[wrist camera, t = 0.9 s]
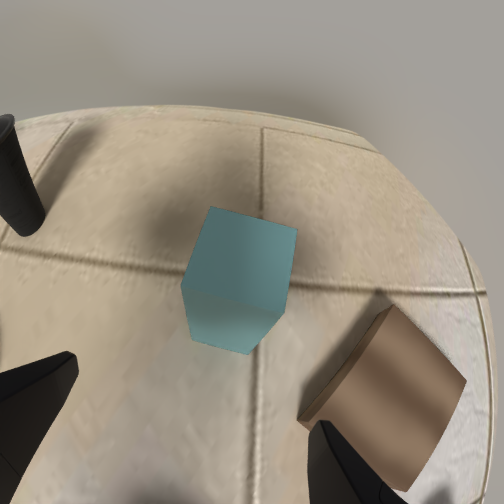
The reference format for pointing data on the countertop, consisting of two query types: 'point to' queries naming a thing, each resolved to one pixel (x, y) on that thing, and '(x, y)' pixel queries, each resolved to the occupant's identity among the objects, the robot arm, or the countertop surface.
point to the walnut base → (391, 398)
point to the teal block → (237, 279)
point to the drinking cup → (17, 184)
